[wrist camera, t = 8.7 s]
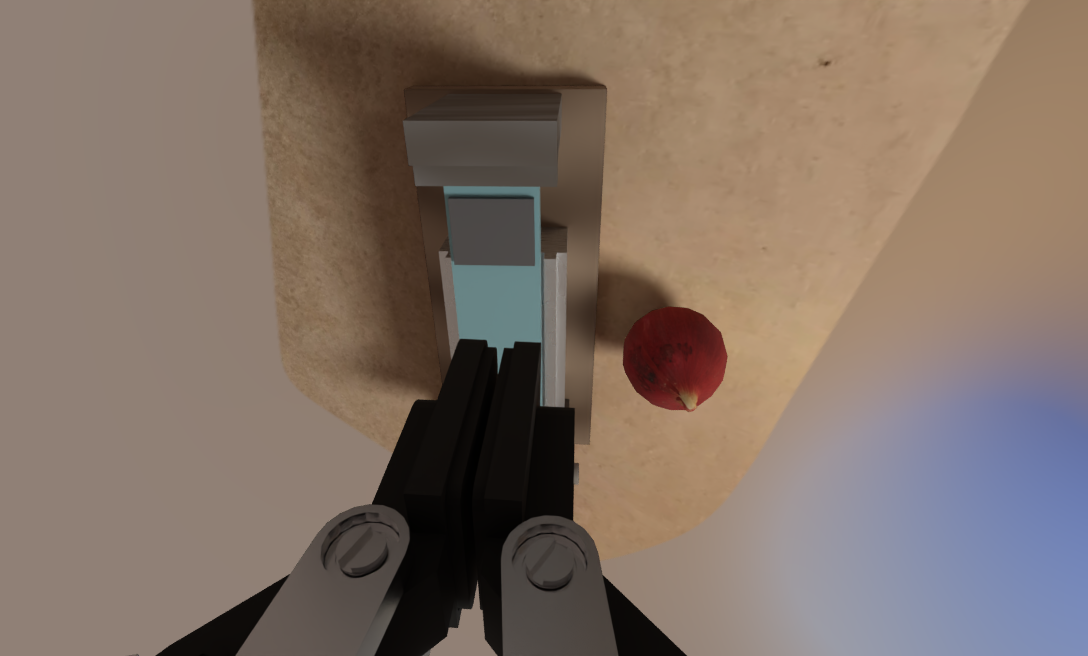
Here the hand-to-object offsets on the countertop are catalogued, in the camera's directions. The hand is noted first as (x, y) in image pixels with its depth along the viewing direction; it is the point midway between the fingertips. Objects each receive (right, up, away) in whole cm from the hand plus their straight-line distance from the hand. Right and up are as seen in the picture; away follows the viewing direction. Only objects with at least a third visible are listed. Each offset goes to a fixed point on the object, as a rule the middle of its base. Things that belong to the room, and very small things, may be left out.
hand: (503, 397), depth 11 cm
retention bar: (-1, 0, +16) cm, 16 cm away
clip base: (-1, +4, +22) cm, 22 cm away
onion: (+9, +2, +23) cm, 24 cm away
